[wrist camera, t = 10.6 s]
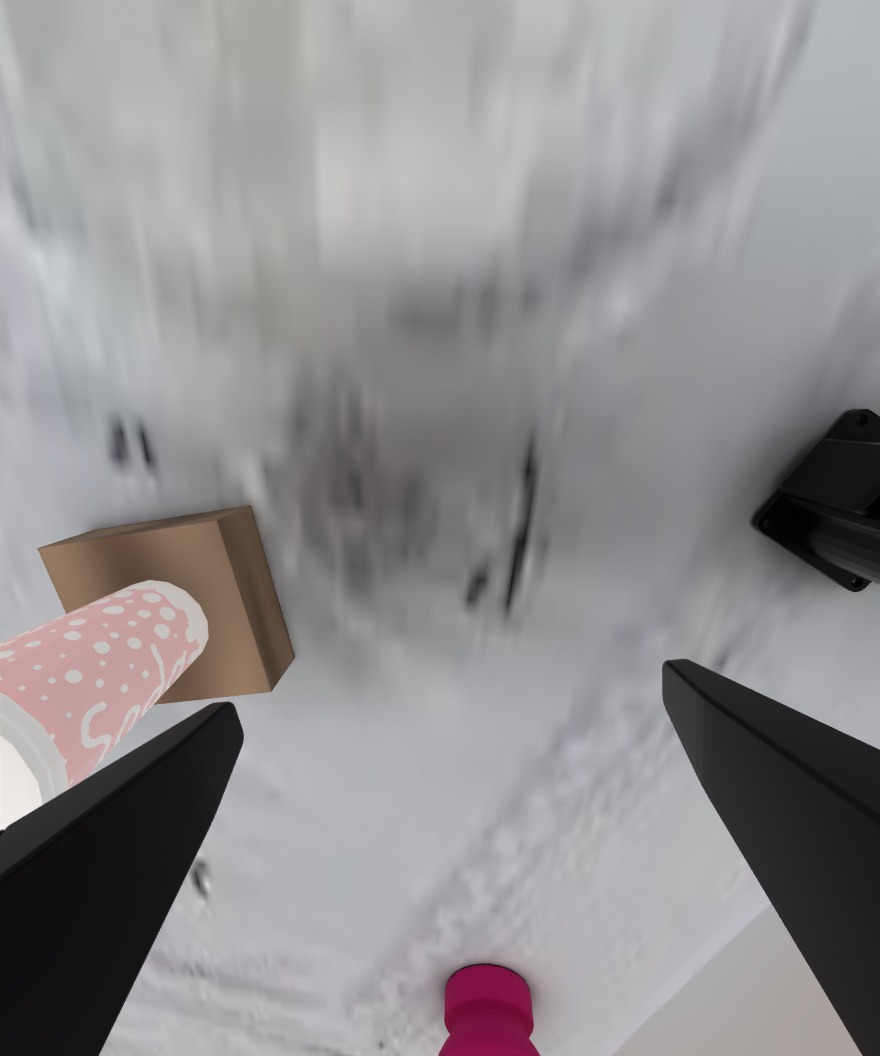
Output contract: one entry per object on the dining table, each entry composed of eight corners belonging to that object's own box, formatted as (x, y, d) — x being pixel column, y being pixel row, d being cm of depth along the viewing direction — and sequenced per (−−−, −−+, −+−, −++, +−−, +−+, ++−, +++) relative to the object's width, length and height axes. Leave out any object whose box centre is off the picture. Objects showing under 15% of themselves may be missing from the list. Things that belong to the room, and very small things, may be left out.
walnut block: (250, 505, 21) (216, 520, 18) (294, 657, 24) (271, 691, 21) (92, 530, 22) (37, 548, 19) (150, 674, 25) (109, 709, 22)
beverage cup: (185, 699, 21) (-292, 1196, 8) (79, 628, 20) (-656, 1048, 7) (248, 618, 20) (-213, 1063, 6) (136, 538, 19) (-662, 854, 6)
